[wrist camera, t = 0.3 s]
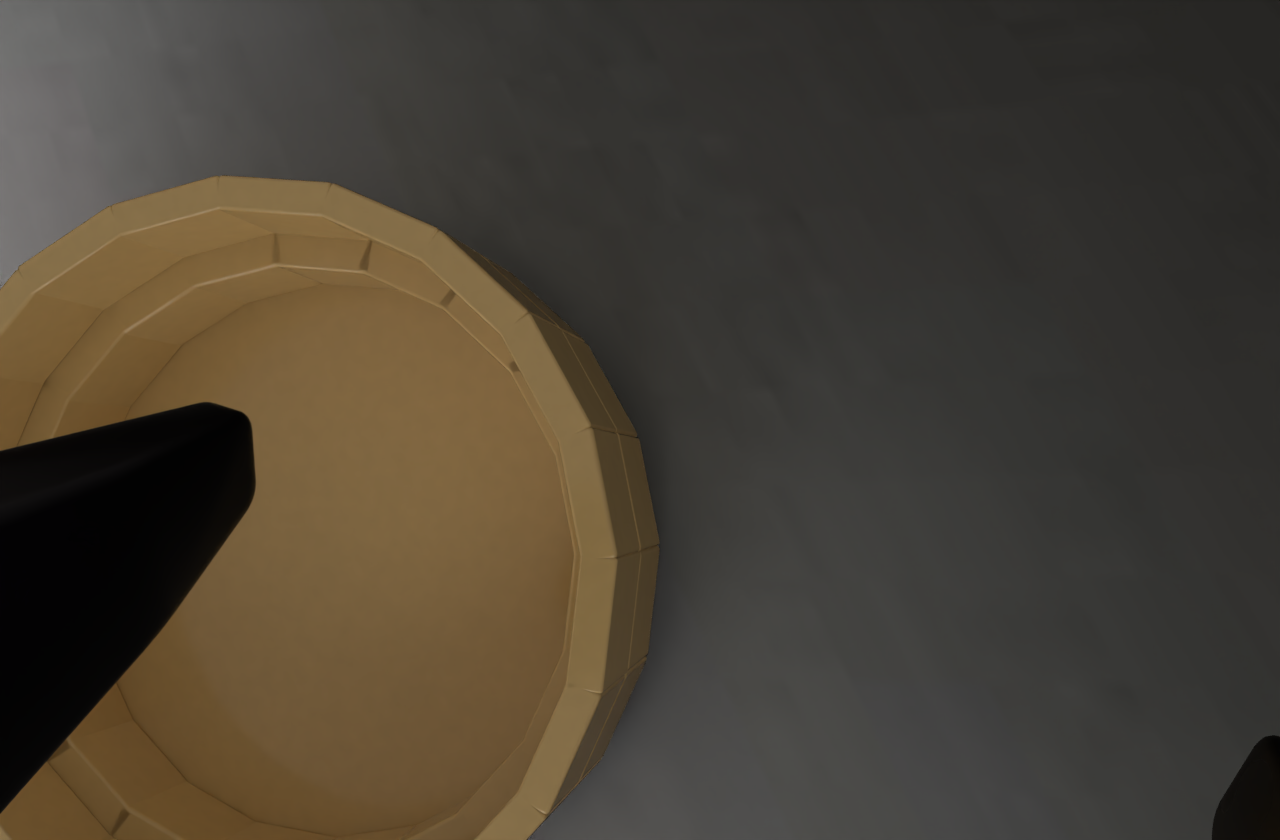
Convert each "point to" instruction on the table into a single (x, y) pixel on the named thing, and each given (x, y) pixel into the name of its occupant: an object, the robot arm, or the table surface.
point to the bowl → (343, 524)
